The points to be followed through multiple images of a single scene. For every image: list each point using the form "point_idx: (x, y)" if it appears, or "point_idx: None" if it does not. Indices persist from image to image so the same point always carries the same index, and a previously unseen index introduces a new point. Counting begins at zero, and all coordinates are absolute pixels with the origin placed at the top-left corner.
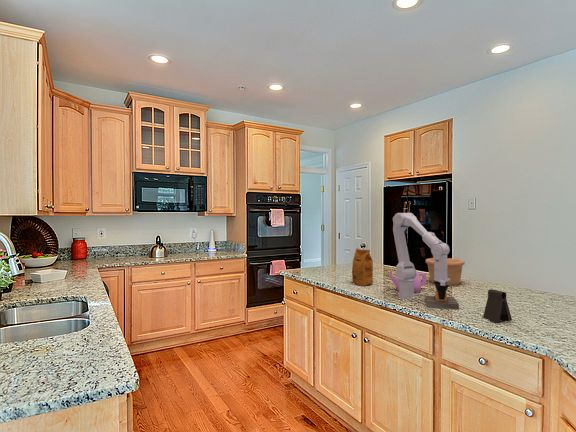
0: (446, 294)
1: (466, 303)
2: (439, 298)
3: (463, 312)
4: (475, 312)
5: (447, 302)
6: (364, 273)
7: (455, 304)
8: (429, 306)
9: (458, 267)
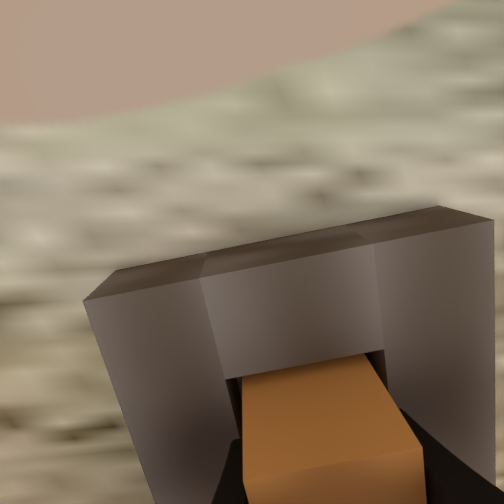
0: (414, 438)
1: (37, 127)
2: None
3: (499, 155)
4: (463, 13)
5: (447, 353)
6: None
7: (486, 258)
8: None
9: None
